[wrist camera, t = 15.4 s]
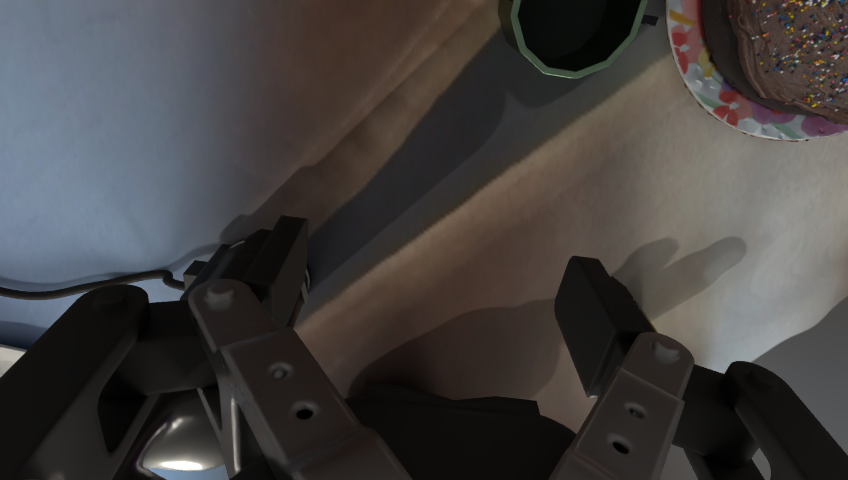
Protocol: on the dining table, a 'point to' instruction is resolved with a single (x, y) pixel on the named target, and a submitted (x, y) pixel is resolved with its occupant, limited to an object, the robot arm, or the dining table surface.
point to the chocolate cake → (765, 63)
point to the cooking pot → (597, 52)
